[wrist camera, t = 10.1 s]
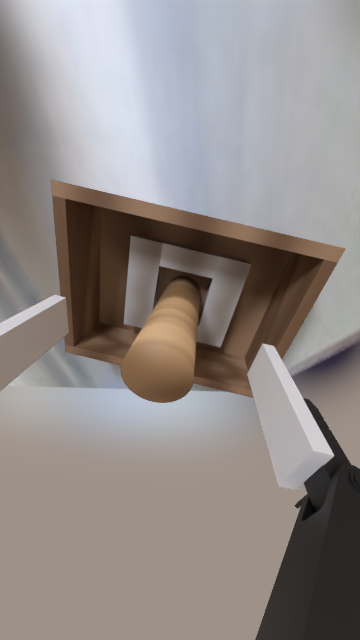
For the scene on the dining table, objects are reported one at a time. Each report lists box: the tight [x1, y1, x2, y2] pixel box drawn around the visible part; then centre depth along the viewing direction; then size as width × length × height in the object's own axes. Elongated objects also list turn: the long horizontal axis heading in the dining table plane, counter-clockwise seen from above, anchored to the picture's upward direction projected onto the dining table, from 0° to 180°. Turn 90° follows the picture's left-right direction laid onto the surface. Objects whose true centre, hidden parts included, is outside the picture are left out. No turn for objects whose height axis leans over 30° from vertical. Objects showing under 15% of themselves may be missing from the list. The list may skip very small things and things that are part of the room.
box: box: [51, 180, 345, 398], centre depth 21 cm, size 22×16×6 cm
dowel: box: [121, 276, 200, 403], centre depth 17 cm, size 4×4×14 cm
